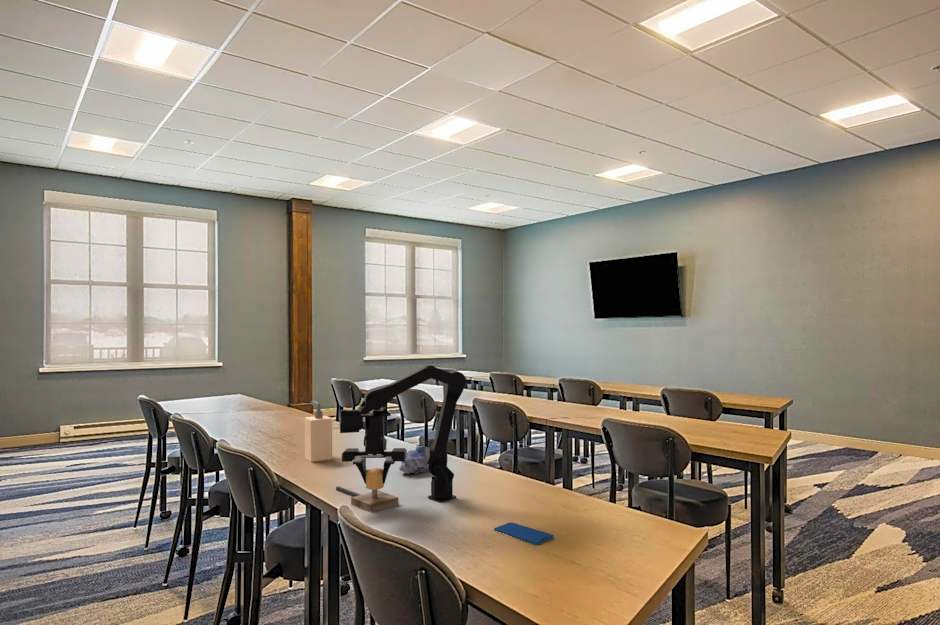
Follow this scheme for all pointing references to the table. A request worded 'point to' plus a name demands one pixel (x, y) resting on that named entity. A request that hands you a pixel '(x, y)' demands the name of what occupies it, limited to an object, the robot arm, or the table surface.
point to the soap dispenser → (318, 436)
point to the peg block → (374, 500)
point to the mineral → (414, 461)
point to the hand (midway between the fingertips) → (374, 483)
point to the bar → (347, 491)
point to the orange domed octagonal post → (374, 478)
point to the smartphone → (524, 533)
